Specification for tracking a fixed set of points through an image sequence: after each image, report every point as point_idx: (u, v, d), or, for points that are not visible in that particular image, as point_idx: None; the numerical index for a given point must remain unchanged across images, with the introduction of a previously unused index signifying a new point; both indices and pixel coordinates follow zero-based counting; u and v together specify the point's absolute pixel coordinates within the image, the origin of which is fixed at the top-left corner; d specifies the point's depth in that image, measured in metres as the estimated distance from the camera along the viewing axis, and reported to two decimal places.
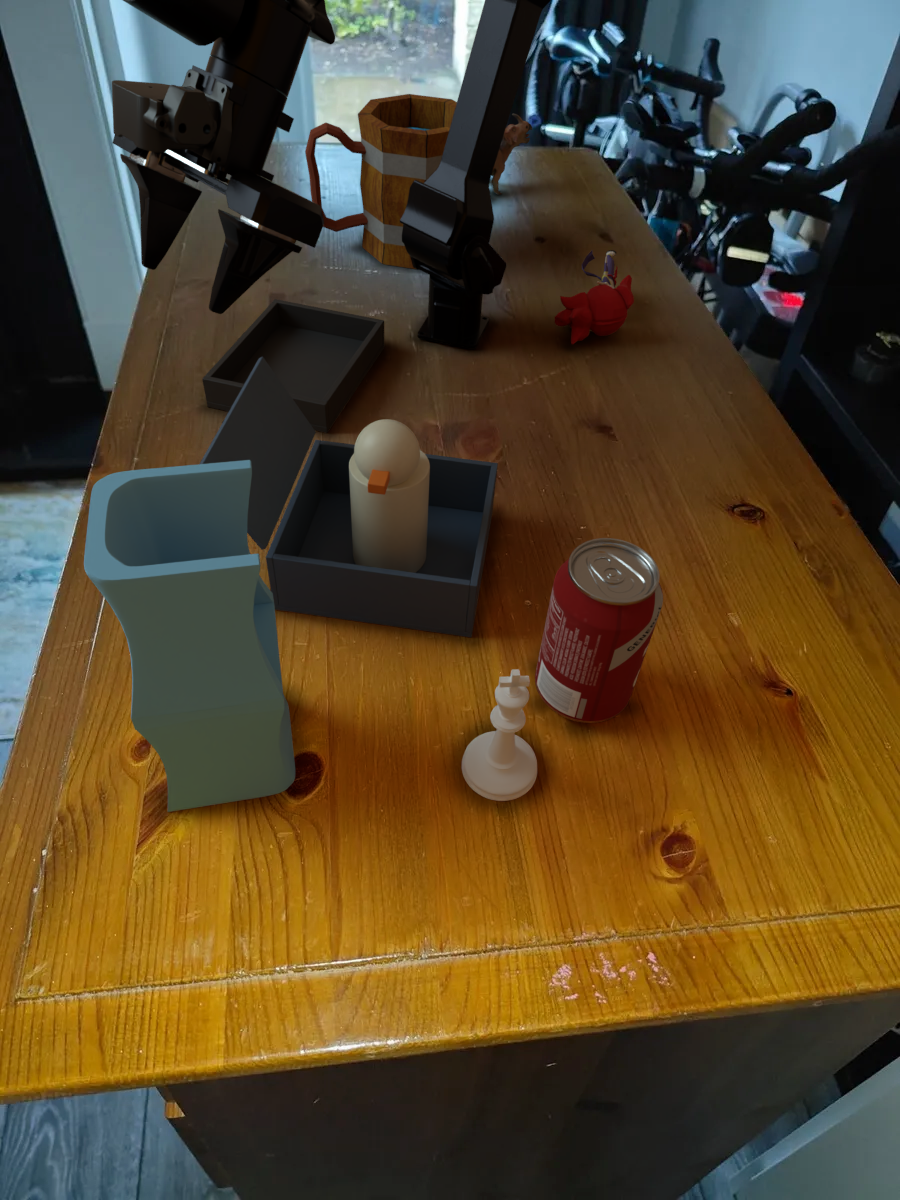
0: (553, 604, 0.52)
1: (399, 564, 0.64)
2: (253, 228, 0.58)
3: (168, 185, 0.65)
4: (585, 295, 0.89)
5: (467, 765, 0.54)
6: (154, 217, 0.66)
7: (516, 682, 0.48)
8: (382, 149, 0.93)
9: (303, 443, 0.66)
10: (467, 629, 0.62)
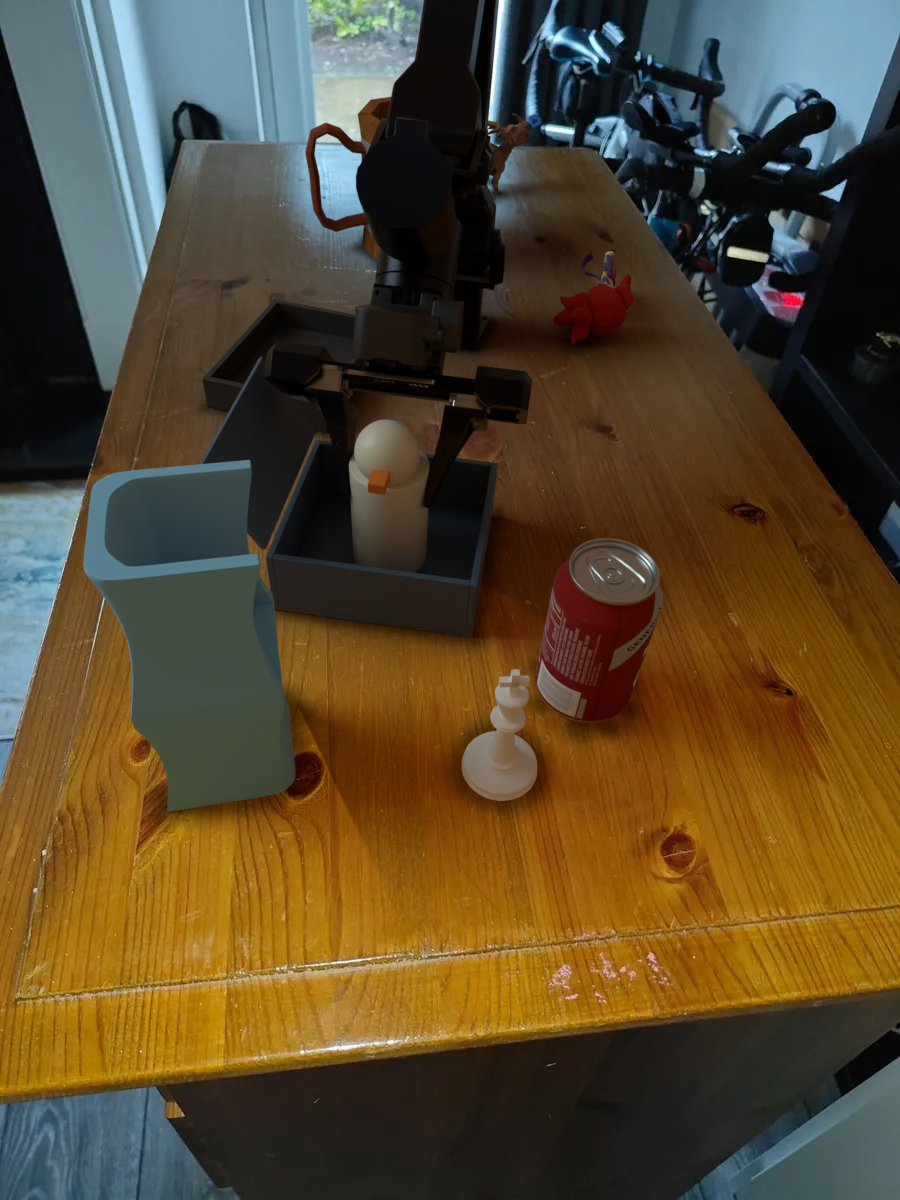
0: (553, 604, 0.52)
1: (399, 564, 0.64)
2: (486, 413, 0.59)
3: (349, 408, 0.61)
4: (585, 295, 0.89)
5: (467, 765, 0.54)
6: (348, 443, 0.61)
7: (516, 682, 0.48)
8: None
9: (303, 443, 0.66)
10: (467, 629, 0.62)
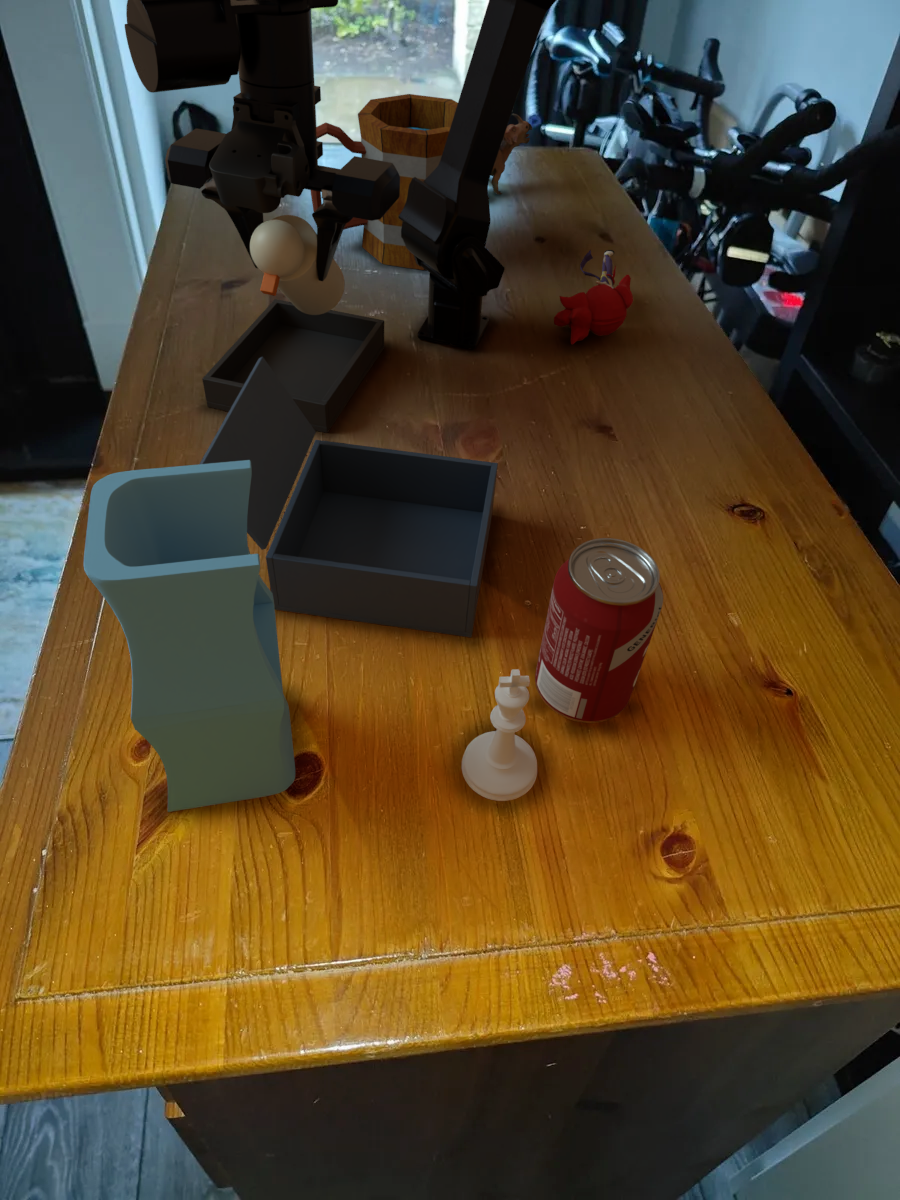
0: (553, 604, 0.52)
1: (316, 308, 0.81)
2: (349, 216, 0.69)
3: None
4: (584, 295, 0.89)
5: (467, 765, 0.54)
6: (251, 227, 0.73)
7: (516, 682, 0.48)
8: (382, 149, 0.93)
9: (303, 443, 0.66)
10: (467, 629, 0.62)
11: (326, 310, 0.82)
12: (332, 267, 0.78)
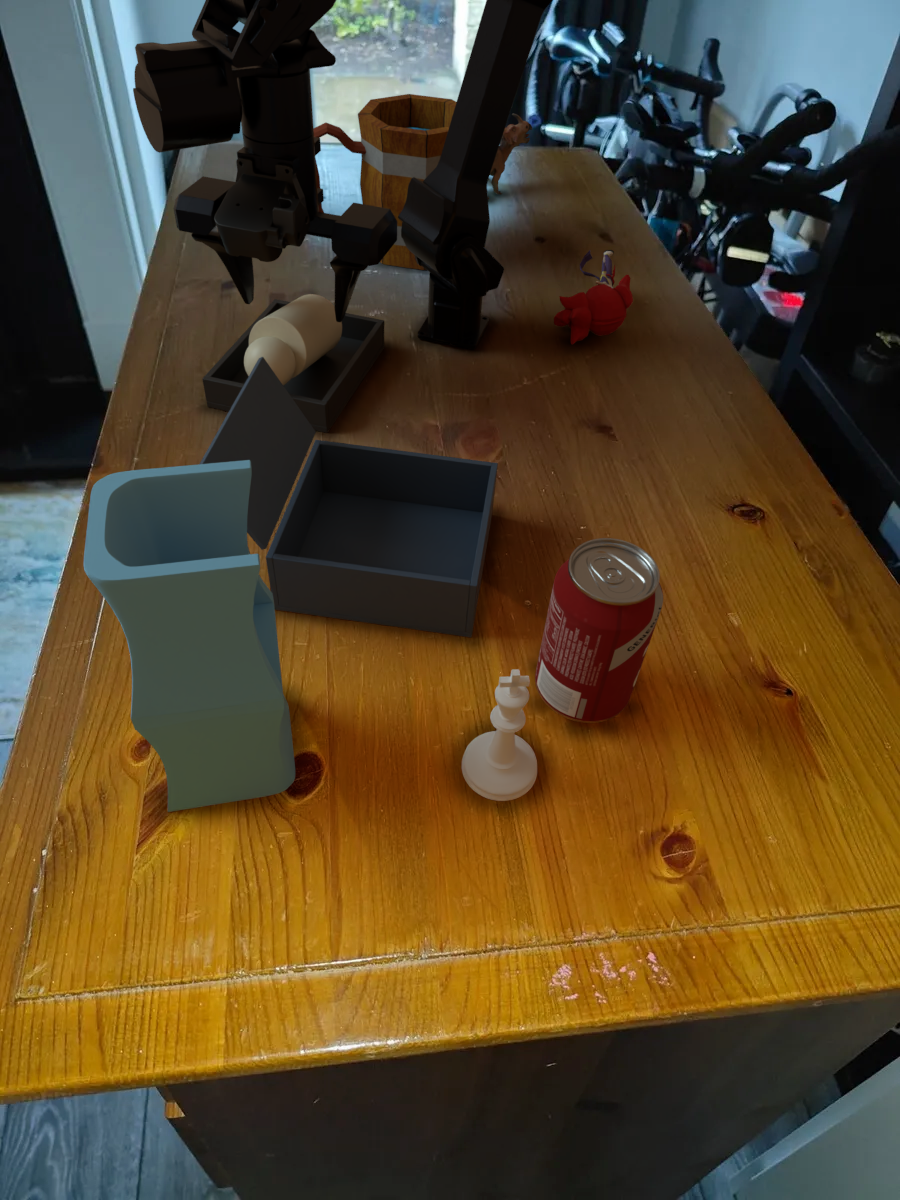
0: (553, 604, 0.52)
1: None
2: (365, 264, 0.72)
3: None
4: (584, 295, 0.89)
5: (467, 765, 0.54)
6: (240, 266, 0.77)
7: (516, 682, 0.48)
8: (382, 149, 0.93)
9: (303, 443, 0.66)
10: (467, 629, 0.62)
11: None
12: (325, 334, 0.81)
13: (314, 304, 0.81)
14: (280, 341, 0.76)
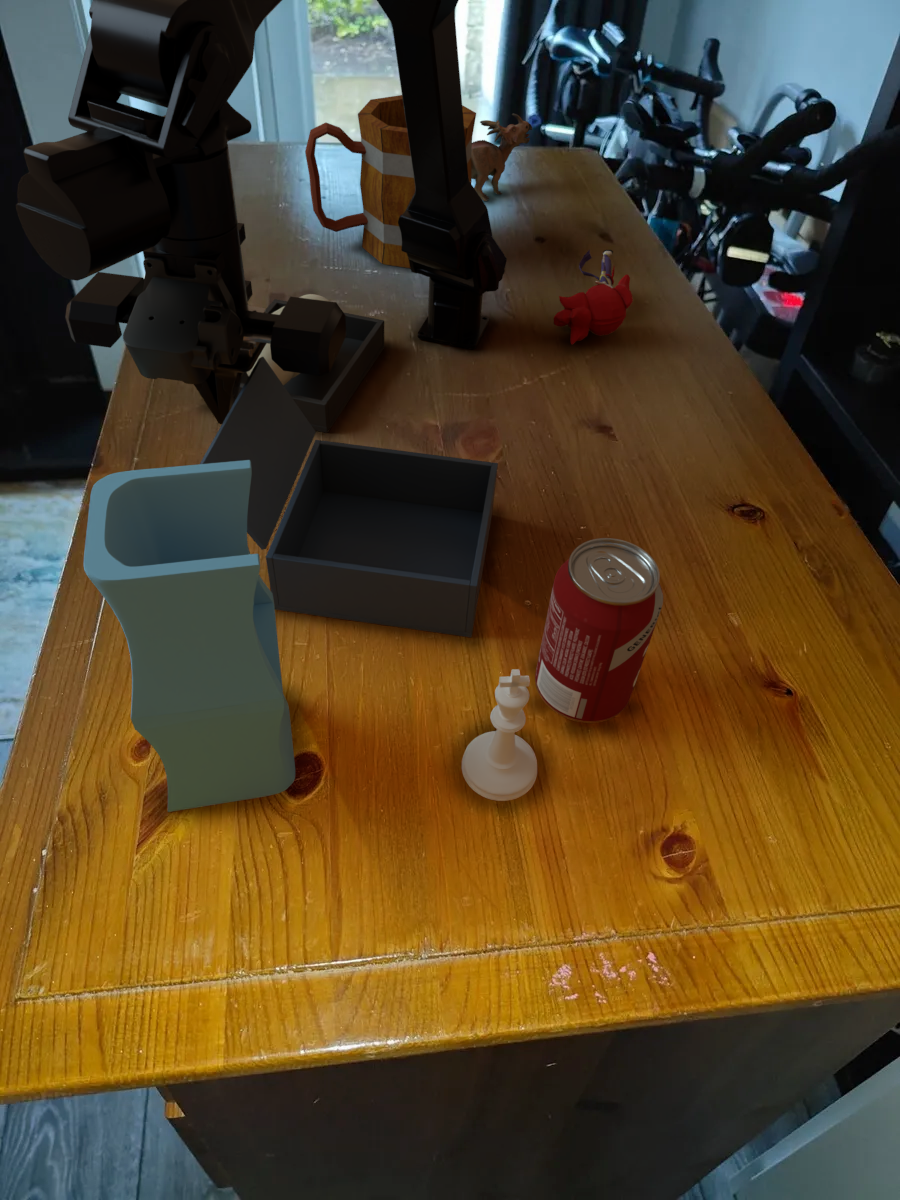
0: (553, 604, 0.52)
1: None
2: (251, 363, 0.60)
3: None
4: (584, 295, 0.89)
5: (467, 765, 0.54)
6: (212, 384, 0.63)
7: (516, 682, 0.48)
8: (382, 149, 0.93)
9: (303, 443, 0.66)
10: (467, 629, 0.62)
11: None
12: None
13: None
14: None
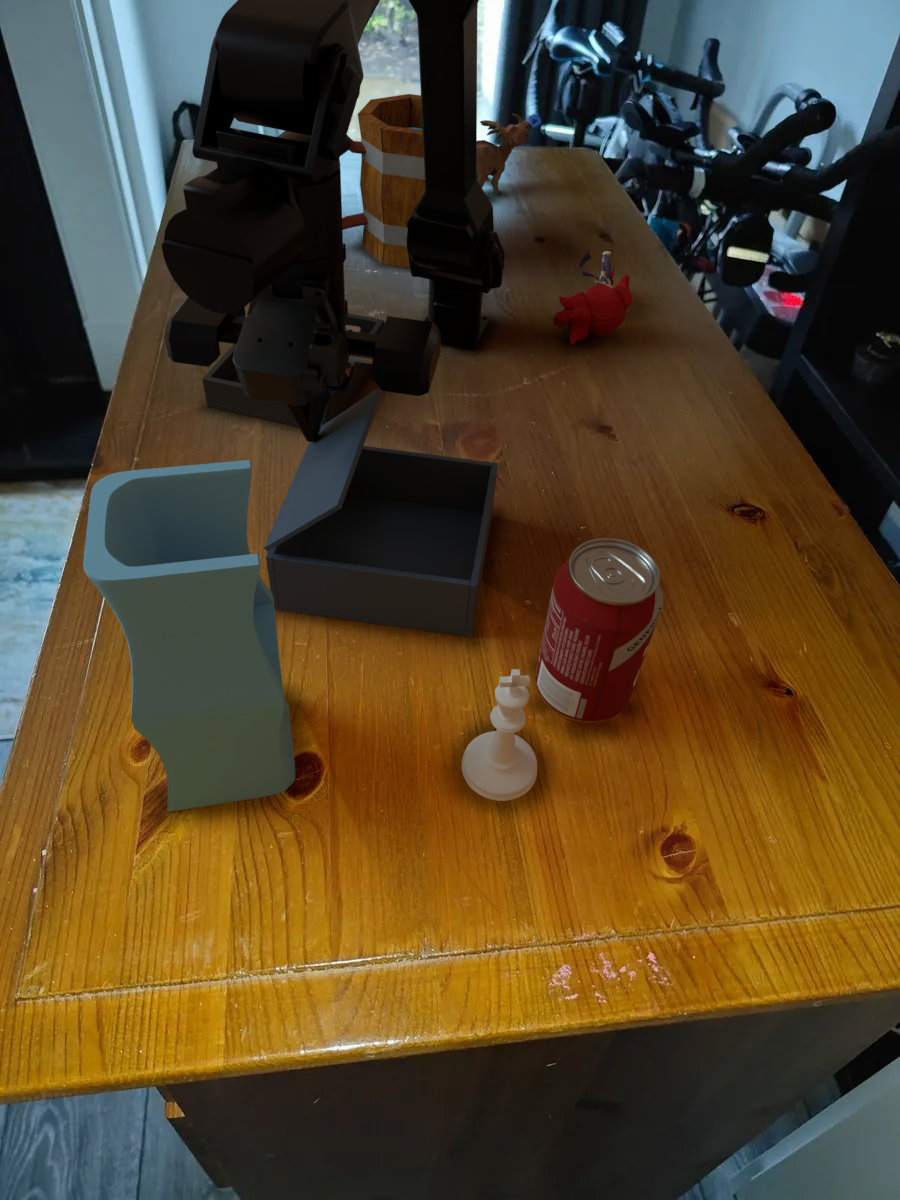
0: (553, 604, 0.52)
1: None
2: (348, 383, 0.60)
3: None
4: (584, 295, 0.89)
5: (467, 765, 0.54)
6: None
7: (516, 682, 0.48)
8: (382, 149, 0.93)
9: None
10: (467, 629, 0.62)
11: None
12: None
13: None
14: None
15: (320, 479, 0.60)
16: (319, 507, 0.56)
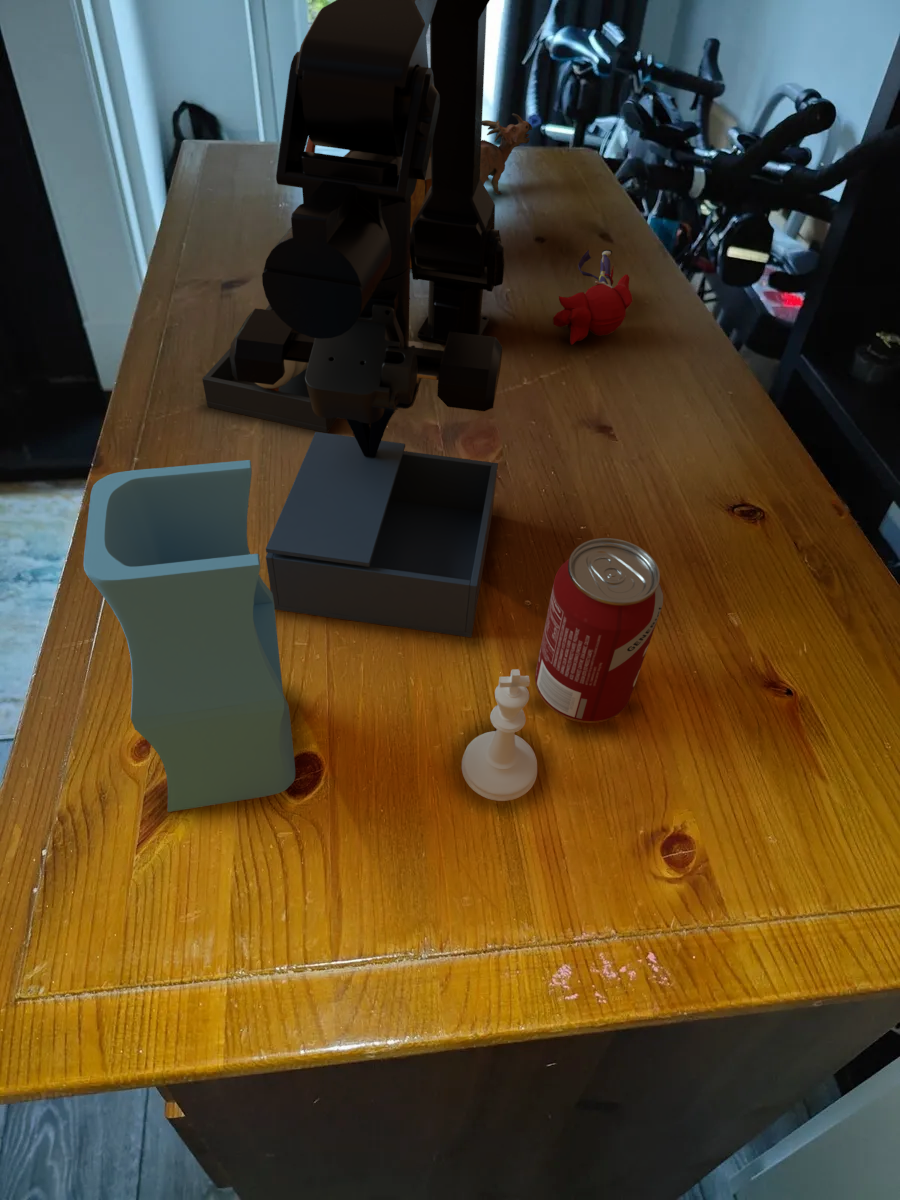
0: (553, 604, 0.52)
1: None
2: (413, 399, 0.60)
3: None
4: (584, 295, 0.89)
5: (467, 765, 0.54)
6: None
7: (516, 682, 0.48)
8: None
9: None
10: (467, 629, 0.62)
11: None
12: None
13: None
14: None
15: (338, 510, 0.62)
16: (343, 549, 0.59)
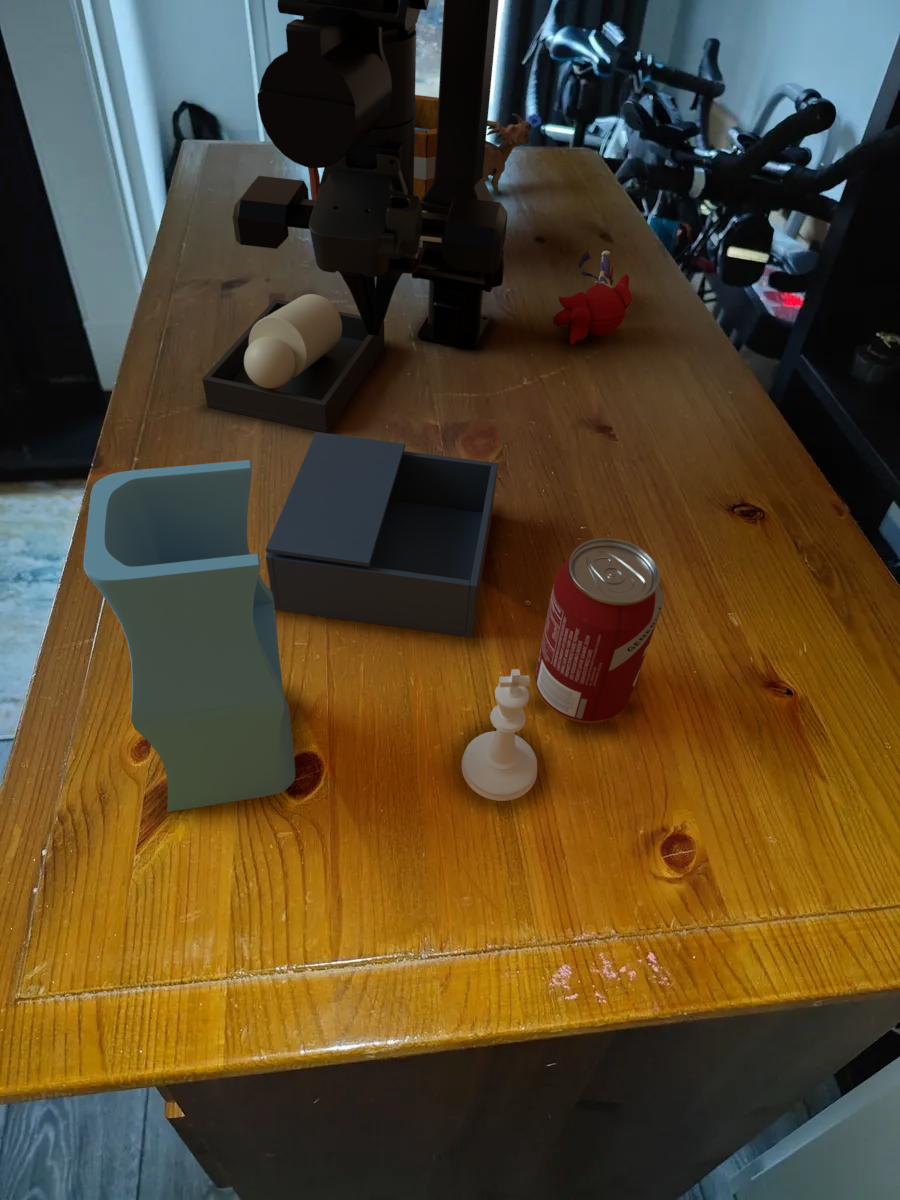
0: (553, 604, 0.52)
1: None
2: (417, 264, 0.59)
3: None
4: (583, 295, 0.89)
5: (467, 765, 0.54)
6: (367, 290, 0.63)
7: (516, 682, 0.48)
8: None
9: None
10: (467, 629, 0.62)
11: None
12: (325, 334, 0.81)
13: (314, 304, 0.81)
14: (280, 341, 0.76)
15: (338, 510, 0.62)
16: (343, 549, 0.59)
